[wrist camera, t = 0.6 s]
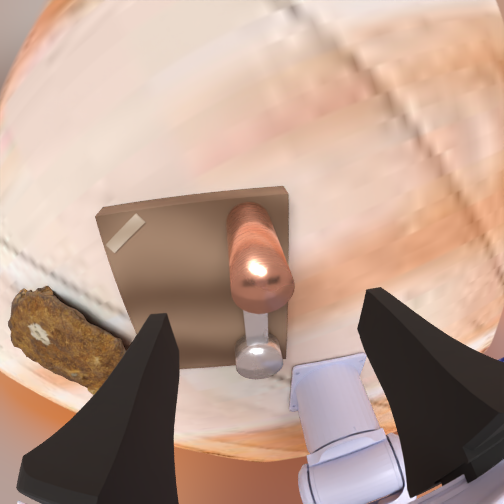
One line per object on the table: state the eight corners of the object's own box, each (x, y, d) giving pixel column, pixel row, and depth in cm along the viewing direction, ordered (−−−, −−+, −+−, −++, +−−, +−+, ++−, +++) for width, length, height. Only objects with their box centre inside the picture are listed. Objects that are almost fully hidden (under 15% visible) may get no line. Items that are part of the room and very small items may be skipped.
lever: (278, 357, 24) (292, 422, 19) (236, 362, 24) (243, 428, 18) (277, 199, 17) (307, 258, 11) (215, 205, 17) (214, 268, 11)
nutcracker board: (282, 346, 26) (286, 359, 25) (155, 357, 25) (153, 370, 24) (283, 186, 18) (288, 194, 17) (102, 207, 18) (94, 217, 16)
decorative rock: (173, 336, 25) (31, 254, 20) (169, 371, 22) (7, 278, 16) (130, 394, 29) (16, 331, 23) (124, 422, 25) (1, 356, 20)
